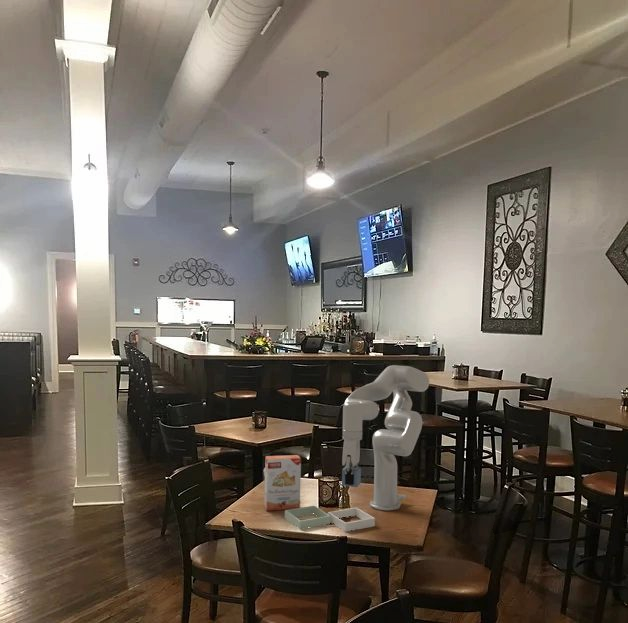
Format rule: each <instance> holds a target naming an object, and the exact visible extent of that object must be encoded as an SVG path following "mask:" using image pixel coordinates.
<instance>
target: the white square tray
mask: <svg viewBox="0 0 628 623" xmlns="http://www.w3.org/2000/svg"><path fill="white" fill-rule="evenodd" d="M327 514H328V515H330V516H331V522H332V523H331V524H333V523H334V524H335V525H334V524H333V525H334V526H336V527H337V526H338V527H337V528H339V529H340V528H341V529H340V530H342V531H343V532H346V533H347V532H351V530H352V531H357V530H362V529H367V528H372V527H375V526H376V524H375V523H376V518H375V517H374V516H372V515H370V514H368V513H367V512H366V511H363V510H361V509H359V507H350V508H345V509H339V510H333V511H327ZM355 515H356V516H355ZM349 516H351V517H357V518H359V520H354V521H348V522H345V521H344V520H342V519H343V518H342V517H346V518H350V517H349ZM339 518H340V519H339ZM356 529H357V530H356Z"/></svg>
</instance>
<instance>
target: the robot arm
mask: <svg viewBox="0 0 628 623" xmlns="http://www.w3.org/2000/svg"><path fill="white" fill-rule="evenodd" d="M429 386H430V379H429V375H428V374H427V373H426V372H425V371H422V370H420V369H418V368H415V367H413V366H408V365H397V364H393V365H389V366H387V367H386V368H385V369H384V370H383V371H382V372H381V373H380V374H379V375H378V376H377V377H376V378H375V380H373V382H371V383H367V384H365V385H363V386H361V387H358V388H356V389H355V390H354V391H352V392H351V394H350V395H348V397H347V398H346V399H345V401H344V403H343V406H342V436H341V437H342V440H344V441H343V445H342V446H343V447H342V457H341V459H342V460H341V465H342V466H344V467H345V466H346V471H345V484H346V485H353V484H354V474H353V469H354V467H359V466H358V464H359V462H360V457H361V456H360V453H361V451H360V450H361V447H360V446H361V444H360V442H361V440H363V421H372V420H374V419H376V418H377V417H378V415H379V413H380V408H379V405H378V403H376V402H378V401H381V400H385V399H387V398H388V397H390V395H391V394H392V393H393V399H392V402H391V404H390V407H389V409H388V411H387V413H386V416H385V418H384V426H385V428H386V429H384V428H381V429H378V430H376V431H374V433H373V434H372V437H371V438H372V440H371V441H372V443H371V444H372V448H373V455H374V456H373V457H374V462H373V463H374V468H373V472H374V474H373V499H371V500H370V501H369V505H370V507H372V509H376V510H380V511H395V510H396V511H397V510H399V509H400V508H401V502H400V501H402V500H406V499H407V495H406V494H400V493H398V461H397V459H396V456H401V457H409V456H411V454H412V452H413V451H414V448H415V446H416V444H417V441H418V439H419V436H420V434H421V431H422V428H423V419H422V415H421V414H420V413H419V412H418V411H414V410H412V407H413V401H412V399H411V397H410V395H409V392H408V391H410V392H418V393H419V392H420V393H422V392H423V393H424V392H425V391H426V390H427V389H428V388H429ZM351 468H352V469H351Z"/></svg>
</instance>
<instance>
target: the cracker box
mask: <svg viewBox="0 0 628 623" xmlns="http://www.w3.org/2000/svg"><path fill="white" fill-rule="evenodd" d="M264 460H265V461H264V462H265V463H264V464H265V467H264V468H265V489H264V492H263V493H264V494H263V495H264V497H263V498H264V499H263V500H264V502H263V505H264V506H263V507H264V509H265V511H267V512H268V511H269V512H271V511H281V510H283V511H285V510H290V509H296V508H301V507H300V505H301V480H302V479H301V478H302V476H301V475H302V458H301V457H300V456H299V455H298V454H292V455H290V454H289V455H266V456H265V459H264Z"/></svg>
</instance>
